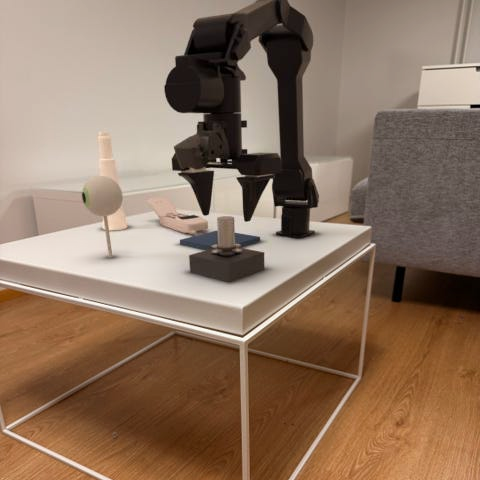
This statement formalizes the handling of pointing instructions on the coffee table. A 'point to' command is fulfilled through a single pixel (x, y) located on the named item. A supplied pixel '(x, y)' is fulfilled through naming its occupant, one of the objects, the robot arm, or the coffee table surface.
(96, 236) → the coffee table surface
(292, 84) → the robot arm
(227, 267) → the square hole block
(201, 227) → the mobile phone
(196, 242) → the mat
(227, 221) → the bolted post stand
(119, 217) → the cosmetic bottle
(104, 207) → the eyeball on stick
